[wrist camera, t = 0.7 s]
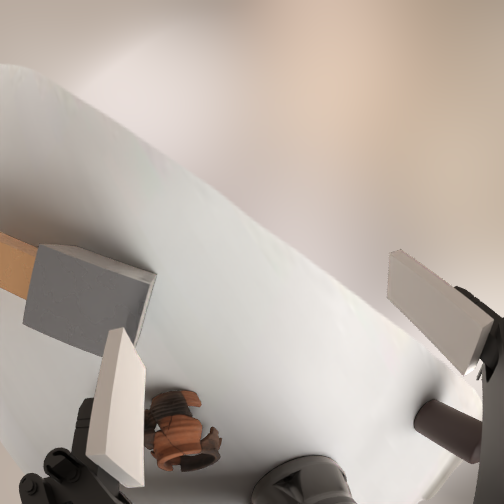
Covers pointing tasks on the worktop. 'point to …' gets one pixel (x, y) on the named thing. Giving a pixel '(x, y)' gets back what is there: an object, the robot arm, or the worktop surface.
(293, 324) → the worktop surface
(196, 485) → the worktop surface
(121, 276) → the sleeve
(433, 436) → the bottle
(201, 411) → the worktop surface
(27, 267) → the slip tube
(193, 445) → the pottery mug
